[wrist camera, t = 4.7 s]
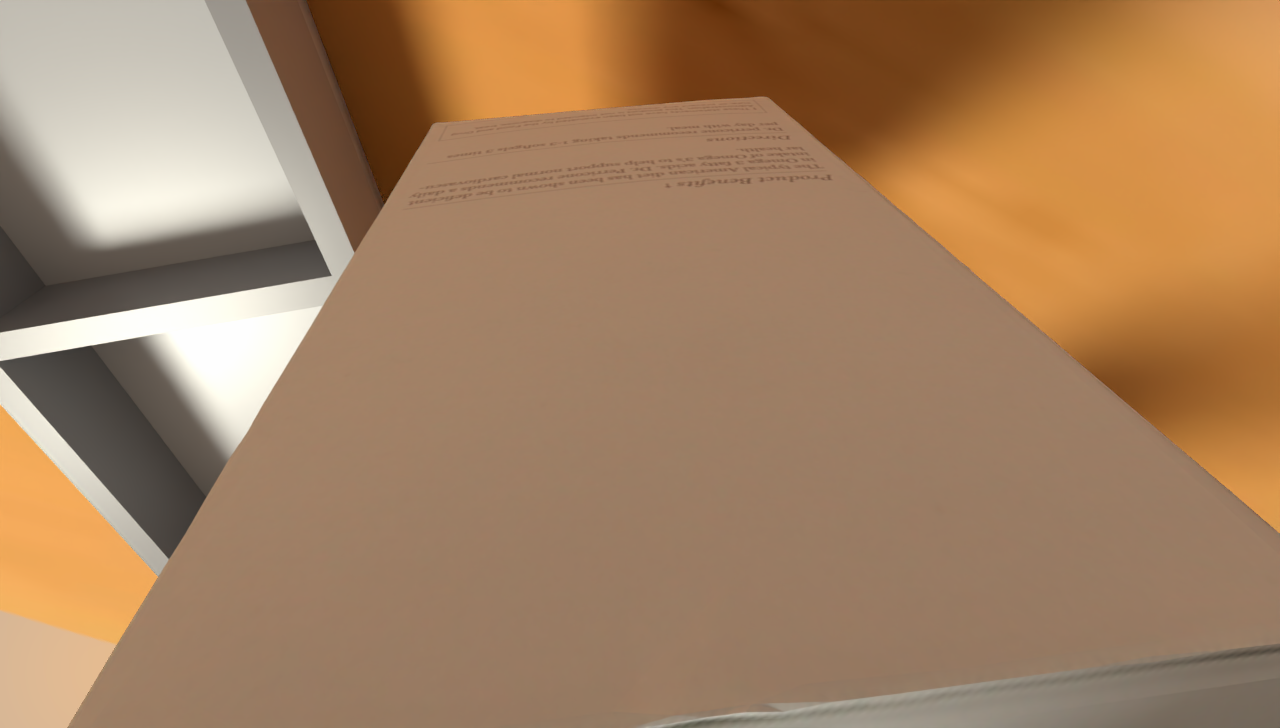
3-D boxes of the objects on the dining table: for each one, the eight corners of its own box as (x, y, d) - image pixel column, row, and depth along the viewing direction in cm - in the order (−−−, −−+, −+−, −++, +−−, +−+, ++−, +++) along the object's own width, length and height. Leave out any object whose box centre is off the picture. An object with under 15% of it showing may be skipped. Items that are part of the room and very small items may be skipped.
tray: (487, 474, 26) (478, 543, 23) (217, 522, 26) (175, 596, 23) (219, -226, 14) (132, -264, 11) (-293, -142, 14) (-515, -158, 11)
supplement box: (490, 399, 17) (381, 1110, 7) (426, 112, 13) (-94, 850, 3) (760, 374, 18) (1032, 1013, 7) (783, 88, 13) (1497, 651, 3)
